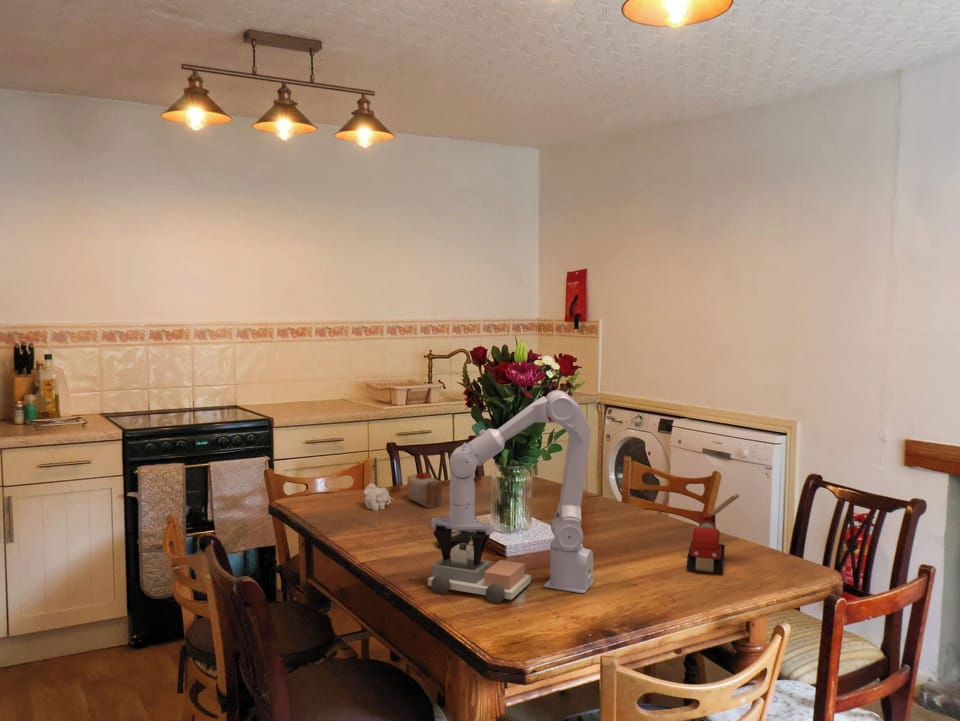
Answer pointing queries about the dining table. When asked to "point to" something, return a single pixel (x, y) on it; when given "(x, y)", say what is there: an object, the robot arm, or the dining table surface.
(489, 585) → the chassis
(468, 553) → the block
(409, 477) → the food item
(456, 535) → the caster wheel
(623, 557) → the dining table surface
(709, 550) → the toy fire truck
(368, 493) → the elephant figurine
